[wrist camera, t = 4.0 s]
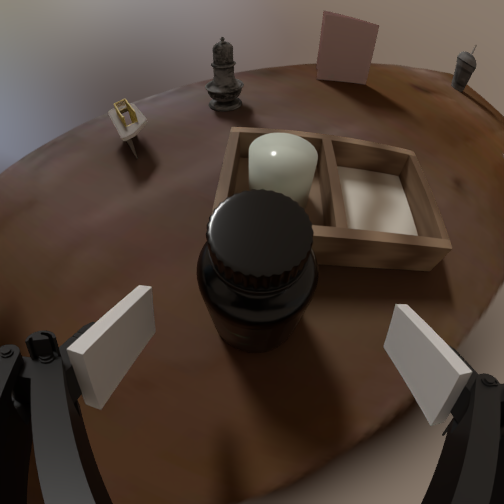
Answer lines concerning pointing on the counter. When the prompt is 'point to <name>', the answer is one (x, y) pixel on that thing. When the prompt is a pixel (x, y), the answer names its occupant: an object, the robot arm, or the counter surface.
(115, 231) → the counter surface
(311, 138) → the caddy
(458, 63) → the beverage cup
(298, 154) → the pale green dome
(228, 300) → the supplement bottle
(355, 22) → the greeting card
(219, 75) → the salt shaker
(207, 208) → the counter surface
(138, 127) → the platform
